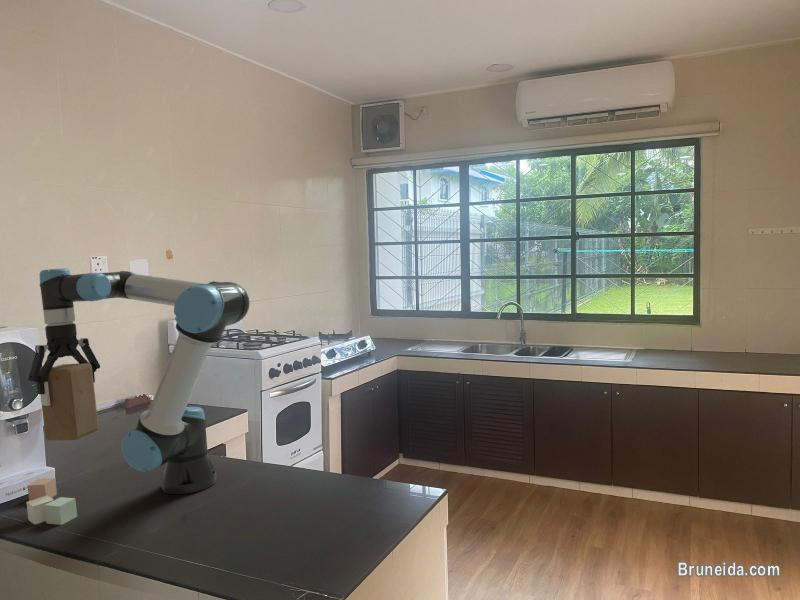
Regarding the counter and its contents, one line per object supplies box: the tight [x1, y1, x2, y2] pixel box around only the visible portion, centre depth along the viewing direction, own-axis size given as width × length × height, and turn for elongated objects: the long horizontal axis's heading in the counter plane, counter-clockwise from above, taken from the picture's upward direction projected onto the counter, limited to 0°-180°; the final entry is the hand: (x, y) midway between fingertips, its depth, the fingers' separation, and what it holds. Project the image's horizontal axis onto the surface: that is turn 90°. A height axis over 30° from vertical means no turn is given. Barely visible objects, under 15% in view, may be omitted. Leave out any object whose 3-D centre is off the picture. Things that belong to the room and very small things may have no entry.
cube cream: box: [26, 496, 54, 525], centre depth 159 cm, size 5×5×5 cm
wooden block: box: [40, 363, 99, 441], centre depth 170 cm, size 10×10×20 cm
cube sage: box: [45, 496, 78, 526], centre depth 157 cm, size 5×5×5 cm
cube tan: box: [27, 477, 58, 501], centre depth 173 cm, size 5×5×5 cm
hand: (68, 399), depth 170 cm, fingers closed on wooden block, 12 cm apart
